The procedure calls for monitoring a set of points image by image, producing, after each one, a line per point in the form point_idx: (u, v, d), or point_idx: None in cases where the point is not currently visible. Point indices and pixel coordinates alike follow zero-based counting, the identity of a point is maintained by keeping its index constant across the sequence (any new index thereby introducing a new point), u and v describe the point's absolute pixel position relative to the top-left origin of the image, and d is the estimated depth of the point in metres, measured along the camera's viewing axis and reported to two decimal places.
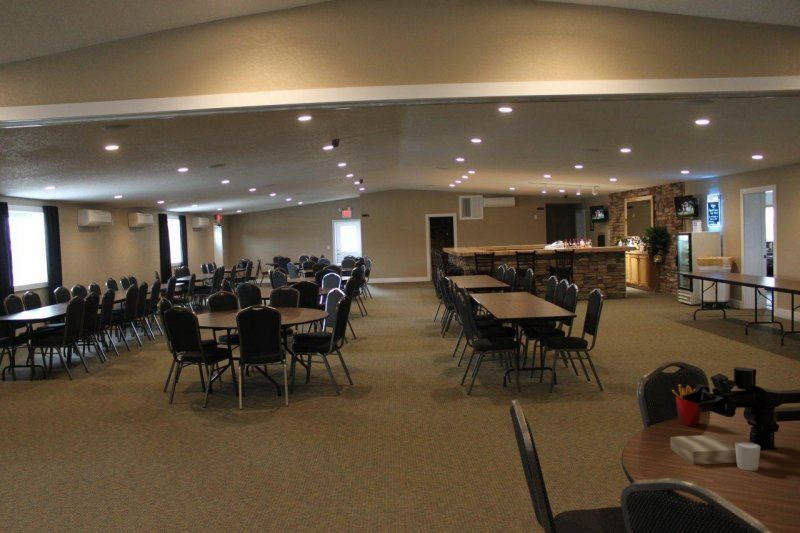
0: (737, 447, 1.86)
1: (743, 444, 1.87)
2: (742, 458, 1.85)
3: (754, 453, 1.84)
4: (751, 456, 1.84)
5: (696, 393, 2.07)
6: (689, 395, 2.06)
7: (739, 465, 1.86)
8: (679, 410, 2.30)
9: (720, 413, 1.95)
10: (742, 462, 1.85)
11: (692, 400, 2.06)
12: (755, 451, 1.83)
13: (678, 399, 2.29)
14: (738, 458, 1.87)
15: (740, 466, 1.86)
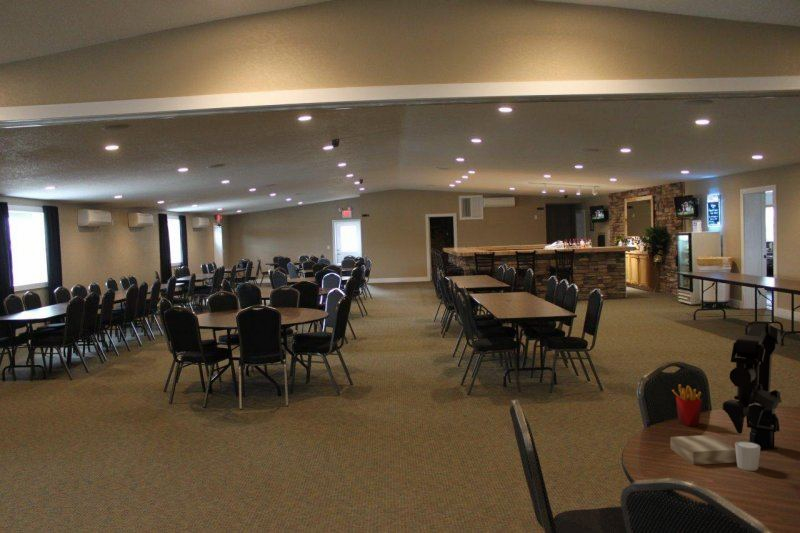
0: (737, 447, 1.86)
1: (743, 444, 1.87)
2: (742, 458, 1.85)
3: (754, 453, 1.84)
4: (751, 456, 1.84)
5: None
6: None
7: (739, 465, 1.86)
8: (679, 410, 2.30)
9: None
10: (742, 462, 1.85)
11: None
12: (755, 451, 1.83)
13: (678, 399, 2.29)
14: (738, 458, 1.87)
15: (740, 466, 1.86)
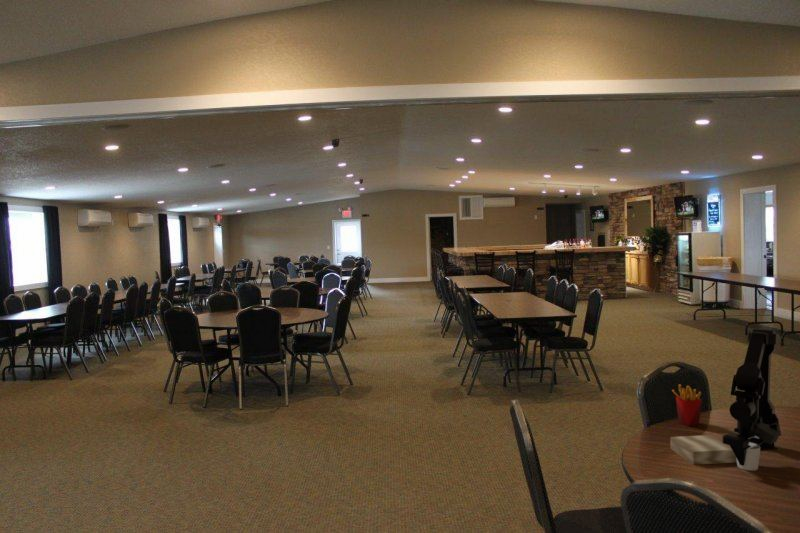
0: None
1: None
2: None
3: (755, 453, 1.84)
4: (751, 456, 1.84)
5: None
6: None
7: (739, 465, 1.86)
8: (679, 410, 2.30)
9: None
10: None
11: None
12: (755, 451, 1.83)
13: (678, 399, 2.30)
14: None
15: (740, 466, 1.86)
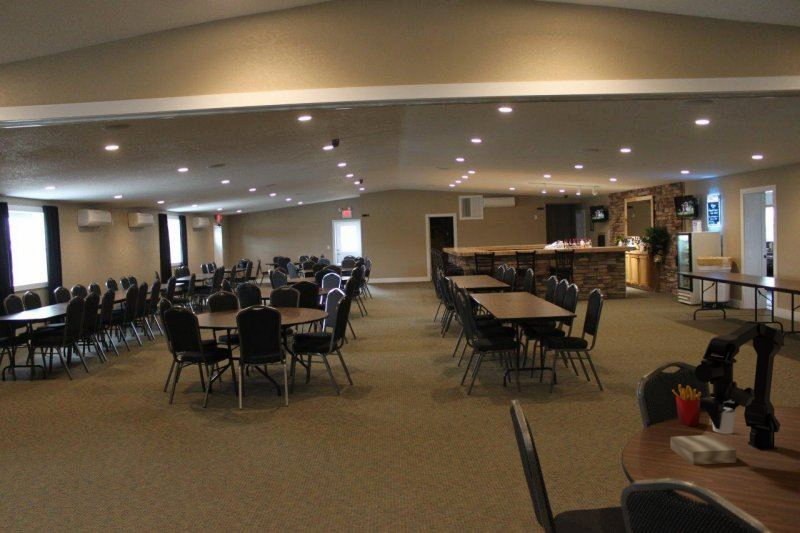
0: None
1: None
2: None
3: (730, 417, 1.89)
4: (726, 419, 1.89)
5: None
6: None
7: (715, 429, 1.91)
8: (679, 410, 2.30)
9: None
10: None
11: None
12: (730, 414, 1.88)
13: (678, 399, 2.29)
14: None
15: (716, 430, 1.91)
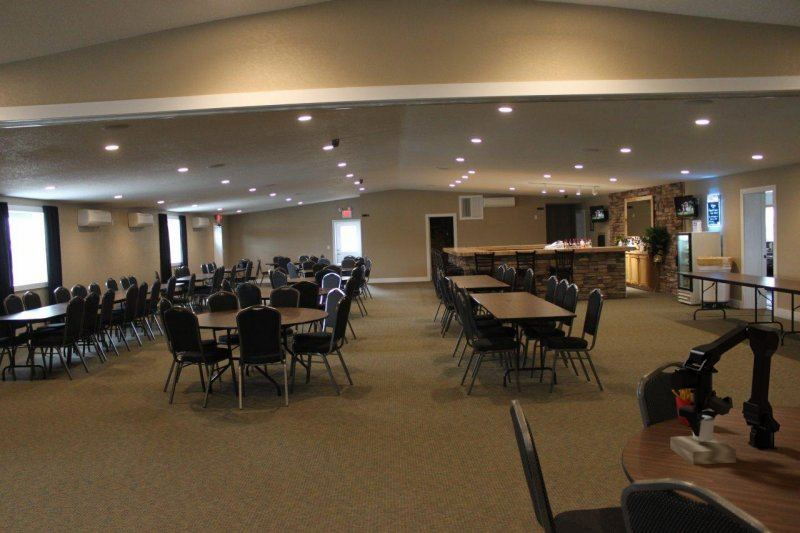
0: None
1: None
2: None
3: (708, 425, 1.94)
4: (705, 427, 1.94)
5: None
6: None
7: (695, 436, 1.97)
8: None
9: None
10: None
11: None
12: (709, 423, 1.94)
13: (678, 399, 2.29)
14: None
15: (695, 437, 1.96)
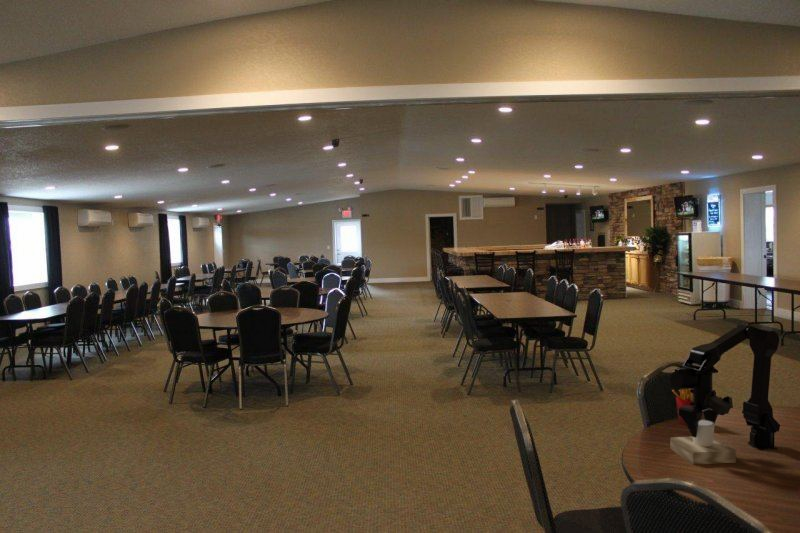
0: None
1: (699, 422, 1.97)
2: (697, 435, 1.95)
3: (709, 430, 1.94)
4: (705, 433, 1.94)
5: None
6: None
7: (695, 442, 1.97)
8: None
9: None
10: (697, 439, 1.95)
11: None
12: (709, 428, 1.93)
13: (678, 399, 2.29)
14: None
15: (696, 443, 1.96)
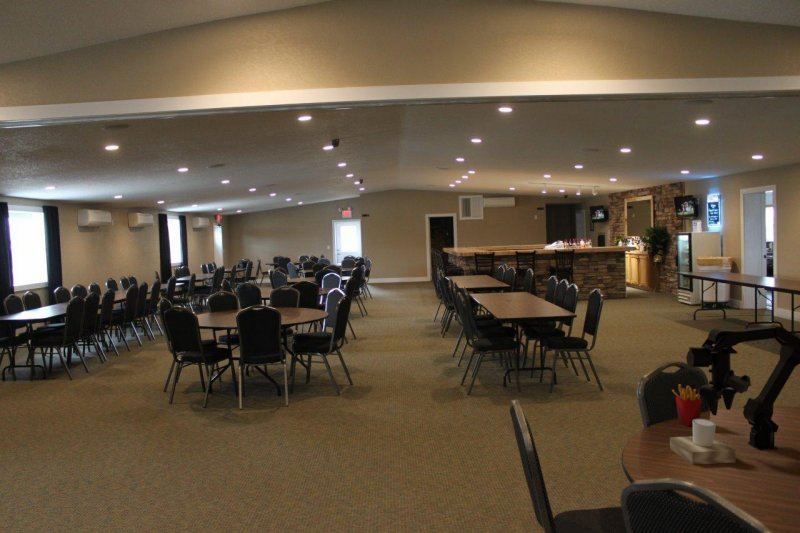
0: (694, 424, 1.96)
1: (700, 421, 1.97)
2: (698, 435, 1.95)
3: (710, 431, 1.93)
4: (707, 433, 1.93)
5: None
6: None
7: (695, 441, 1.96)
8: (679, 410, 2.30)
9: None
10: (698, 438, 1.95)
11: None
12: (711, 429, 1.93)
13: (678, 399, 2.30)
14: (695, 435, 1.96)
15: (696, 442, 1.96)
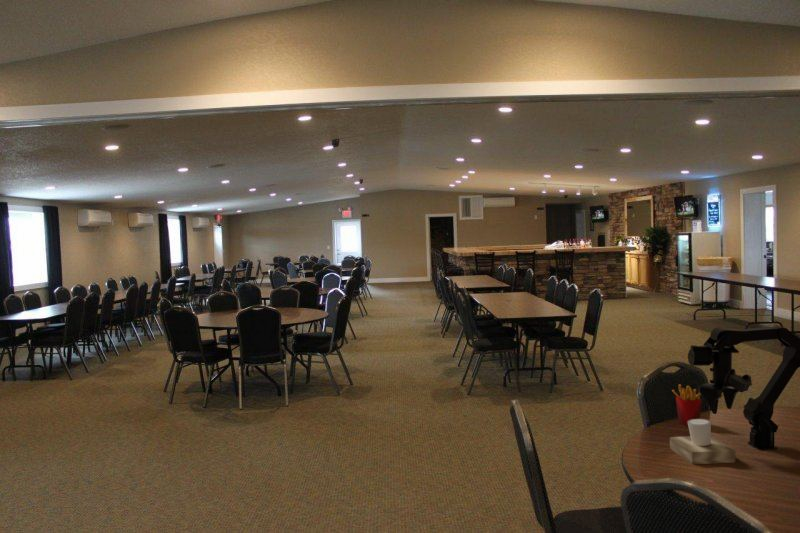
0: (692, 426, 1.96)
1: (695, 422, 1.97)
2: (698, 435, 1.95)
3: (708, 428, 1.94)
4: (706, 432, 1.94)
5: None
6: None
7: (695, 442, 1.96)
8: (679, 410, 2.30)
9: None
10: (698, 439, 1.95)
11: None
12: (708, 426, 1.94)
13: (678, 399, 2.29)
14: (694, 436, 1.96)
15: (697, 443, 1.95)
